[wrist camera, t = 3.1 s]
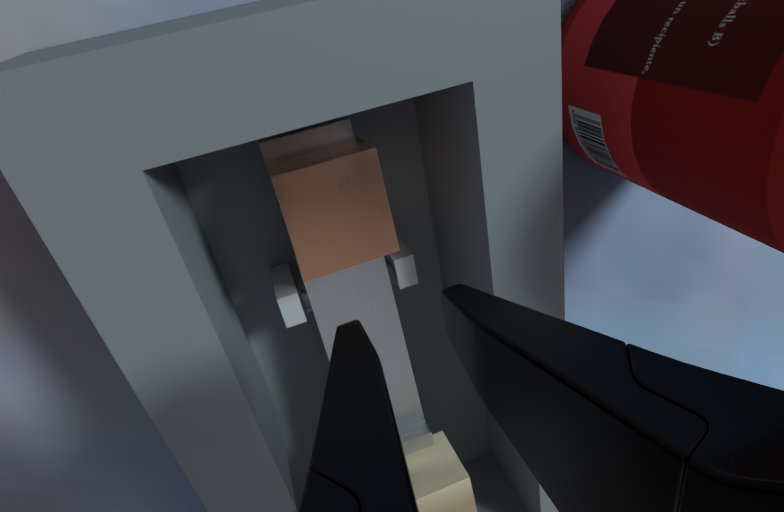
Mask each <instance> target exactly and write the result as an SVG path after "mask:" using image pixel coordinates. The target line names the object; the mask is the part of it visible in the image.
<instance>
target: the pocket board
mask: <svg viewBox="0 0 784 512" xmlns="http://www.w3.org/2000/svg"><path fill="white" fill-rule="evenodd" d="M343 116H345V117H348V118H350V121H351V125H352V129H353V133H354V135H355V136H357V137H358V138H360V139H362V140H364V141H366V142H367V143H369V144H371V145H373V146H374V147H376V150H377V154H378V158H379V163H380V167H381V171H382V175H383V180H384V184H385V188H386V193H387V197H388V201H389V205H390V210H391V214H392V218H393V223H394V227H395V231H396V235H397V240H398V244H399V248H400V251H398V252H395V253H392V254H389V255H386V256H384V258H385V262H389V263H390V264H391V266H392V269H393V272H394V275H395V279H396V283H394V284H391V286H392V290H393V294H394V298H395V302H396V306H397V310H398V314H399V319H400V323H401V327H402V331H403V335H404V339H405V343H406V347H407V351H408V355H409V359H410V363H411V367H412V371H413V375H414V379H415V383H416V387H417V391H418V395H419V399H420V403H421V407H422V411H423V415H424V419H425V421H426V423H427V424H428V426H429V428H430V430H431V432H432V435H433V434H435V433H438V432H440V431H443V432H444V434H445V436H446V437H447V439H448V441H449V443H450V444H451V446H452V448H453V449H454V451H455V453H456V454H457V456H458V458H459V460H460V461H461V463H462V465H463V466H464V468H465V470H466V472H467V473H468V475H469V477H470V481H471V485H472V490H473V494H474V499H475V504H476V508H477V512H559V511H558V510H557V509H556V507H555V506H554V504H553V503H552V501H551V500H550V498H549V497H548V496H547V494H546V493H545V491H544V490H543V488H542V487H541V485H540V484H539V483H538V481H537V480H536V478H535V477H534V475H533V474H532V473H531V471H530V470H529V468H528V467H527V465H526V464H525V462H524V461H523V460H522V458H521V457H520V455H519V454H518V452H517V451H516V449H515V448H514V447H513V445H512V444H511V442H510V441H509V439H508V438H507V437H506V435H505V434H504V432H503V431H502V429H501V428H500V426H499V425H498V424H497V422H496V421H495V419H494V418H493V416H492V415H491V414H490V412H489V410H488V409H487V407H486V406H485V404H484V403H483V401H482V399H481V397H480V396H479V394H478V392H477V390H476V388H475V386H474V384H473V383H472V381H471V379H470V377H469V375H468V373H467V371H466V369H465V367H464V366H463V364H462V362H461V360H460V358H459V356H458V354H457V352H456V350H455V349H454V347H453V345H452V343H451V341H450V339H449V337H448V335H447V332H446V329H445V325H444V320H443V313H442V307H441V301H440V292H441V290H442V289H445V288H447V287H450V286H453V285H456V284H464V285H467V286H470V287H473V288H476V289H478V290H481V291H484V292H487V293H490V294H492V295H495V296H498V297H501V298H503V299H506V300H509V301H512V302H515V303H517V304H520V305H523V306H526V307H528V308H531V309H534V310H537V311H540V312H542V313H545V314H548V315H551V316H553V317H556V318H559V319H562V320H565V307H564V228H563V148H562V68H561V0H261V1H256V2H252V3H247V4H243V5H238V6H234V7H229V8H225V9H220V10H216V11H211V12H207V13H202V14H198V15H193V16H189V17H184V18H180V19H175V20H171V21H166V22H162V23H157V24H153V25H148V26H144V27H139V28H135V29H130V30H126V31H121V32H117V33H112V34H108V35H103V36H99V37H94V38H90V39H85V40H81V41H76V42H72V43H67V44H63V45H58V46H54V47H49V48H45V49H40V50H36V51H31V52H27V53H24V54H22V55H19V56H17V57H14V58H12V59H9V60H6V61H4V62H1V63H0V170H1V172H2V173H3V175H4V177H5V178H6V180H7V182H8V183H9V185H10V187H11V188H12V190H13V192H14V193H15V195H16V197H17V198H18V200H19V202H20V203H21V205H22V207H23V208H24V210H25V212H26V213H27V215H28V217H29V218H30V220H31V221H32V223H33V225H34V226H35V228H36V230H37V231H38V233H39V235H40V236H41V238H42V240H43V241H44V243H45V245H46V246H47V248H48V250H49V251H50V253H51V255H52V256H53V258H54V260H55V261H56V263H57V265H58V266H59V268H60V269H61V271H62V273H63V274H64V276H65V278H66V279H67V281H68V283H69V284H70V286H71V288H72V289H73V291H74V293H75V294H76V296H77V298H78V299H79V301H80V303H81V304H82V306H83V308H84V309H85V311H86V313H87V314H88V316H89V317H90V319H91V321H92V322H93V324H94V326H95V327H96V329H97V331H98V332H99V334H100V336H101V337H102V339H103V341H104V342H105V344H106V346H107V347H108V349H109V351H110V352H111V354H112V356H113V357H114V359H115V361H116V362H117V364H118V365H119V367H120V369H121V370H122V372H123V374H124V375H125V377H126V379H127V380H128V382H129V384H130V385H131V387H132V389H133V390H134V392H135V394H136V395H137V397H138V399H139V400H140V402H141V404H142V405H143V407H144V409H145V410H146V412H147V413H148V415H149V417H150V418H151V420H152V422H153V423H154V425H155V427H156V428H157V430H158V432H159V433H160V435H161V437H162V438H163V440H164V442H165V443H166V445H167V447H168V448H169V450H170V452H171V453H172V455H173V457H174V458H175V460H176V461H177V463H178V465H179V466H180V468H181V470H182V471H183V473H184V475H185V476H186V478H187V480H188V481H189V483H190V485H191V486H192V488H193V490H194V491H195V493H196V495H197V496H198V498H199V500H200V501H201V503H202V505H203V506H204V508H205V509H206V511H207V512H298V511H299V507H300V503H301V499H302V495H303V490H304V485H305V480H306V475H307V472H308V471H309V470H308V466H309V461H310V456H311V452H312V447H313V442H314V437H315V432H316V427H317V422H318V417H319V412H320V407H321V402H322V397H323V392H324V387H325V382H326V377H327V372H328V367H329V359H328V356H327V353H326V350H325V347H324V344H323V341H322V338H321V335H320V332H319V329H318V326H317V322H316V319H315V316H314V313H313V311H312V312H309V313H307V311H306V308H305V305H304V302H303V299H302V295H301V292H300V290H303V289H305V286H304V282H303V279H302V276H301V273H300V270H299V267H298V264H297V261H296V258H295V255H294V252H293V249H292V246H291V242H290V239H289V236H288V233H287V230H286V227H285V224H284V221H283V218H282V215H281V212H280V209H279V206H278V202H277V199H276V196H275V193H274V190H273V187H272V184H271V181H270V178H269V175H268V172H267V169H266V166H265V162H264V159H263V156H262V153H261V150H260V147H259V144H258V141H257V140H258V139H262V138H266V137H269V136H273V135H277V134H280V133H284V132H288V131H292V130H295V129H299V128H303V127H306V126H310V125H314V124H317V123H321V122H325V121H328V120H332V119H336V118H339V117H343Z"/></svg>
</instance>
